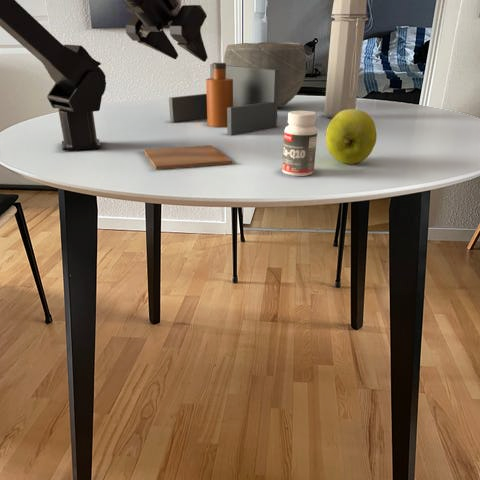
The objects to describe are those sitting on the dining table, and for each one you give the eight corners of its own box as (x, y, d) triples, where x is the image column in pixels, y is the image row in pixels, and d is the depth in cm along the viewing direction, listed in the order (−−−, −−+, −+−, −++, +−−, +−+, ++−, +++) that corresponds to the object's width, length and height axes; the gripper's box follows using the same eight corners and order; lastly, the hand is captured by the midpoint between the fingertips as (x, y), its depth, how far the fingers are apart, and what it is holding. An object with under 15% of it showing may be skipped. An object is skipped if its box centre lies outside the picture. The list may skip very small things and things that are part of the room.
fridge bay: (231, 135, 99) (231, 73, 93) (170, 121, 112) (166, 66, 106) (276, 127, 107) (279, 69, 101) (215, 115, 119) (213, 64, 114)
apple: (323, 169, 76) (328, 113, 72) (323, 155, 84) (327, 104, 80) (375, 171, 75) (383, 114, 71) (370, 157, 83) (377, 105, 79)
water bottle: (317, 115, 120) (326, -9, 107) (345, 113, 122) (358, -8, 110) (336, 121, 113) (349, -11, 100) (366, 119, 115) (382, -11, 102)
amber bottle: (236, 126, 107) (236, 63, 101) (211, 127, 106) (209, 64, 100) (228, 121, 112) (228, 61, 106) (204, 123, 110) (202, 62, 104)
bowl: (296, 101, 140) (300, 40, 133) (310, 113, 122) (315, 43, 114) (222, 102, 139) (221, 40, 131) (225, 114, 121) (224, 43, 113)
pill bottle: (276, 173, 74) (279, 113, 70) (291, 166, 77) (295, 109, 73) (304, 178, 72) (309, 116, 67) (319, 171, 75) (324, 112, 71)
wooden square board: (231, 163, 79) (231, 160, 79) (156, 169, 76) (155, 166, 75) (211, 148, 89) (211, 145, 88) (144, 152, 85) (143, 149, 85)
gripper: (195, -55, 80) (244, 25, 92) (132, -45, 92) (183, 24, 104) (159, 2, 80) (213, 74, 92) (100, 4, 91) (155, 68, 103)
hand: (190, 58), depth 98 cm, fingers open, 9 cm apart
